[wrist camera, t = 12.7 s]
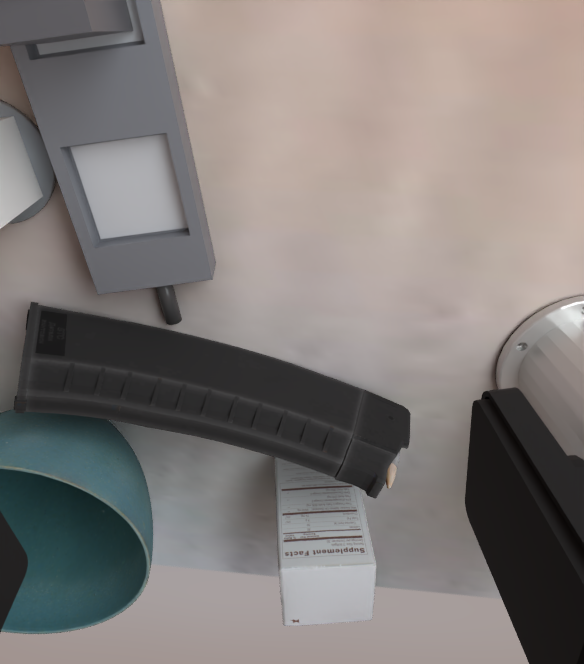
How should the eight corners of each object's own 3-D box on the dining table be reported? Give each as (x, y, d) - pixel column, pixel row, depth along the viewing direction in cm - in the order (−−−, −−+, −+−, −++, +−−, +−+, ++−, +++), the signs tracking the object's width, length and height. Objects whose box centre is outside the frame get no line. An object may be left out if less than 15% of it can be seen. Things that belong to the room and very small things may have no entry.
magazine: (-65, 390, 31) (385, 595, 30) (-65, 348, 30) (409, 562, 28) (93, 294, 47) (397, 427, 45) (98, 263, 45) (413, 399, 44)
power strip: (225, 309, 40) (222, 333, 37) (124, 322, 40) (113, 347, 37) (121, -183, 25) (101, -212, 22) (-37, -159, 25) (-79, -186, 22)
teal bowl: (166, 355, 42) (133, 465, 31) (181, 507, 51) (161, 632, 40) (-67, 354, 40) (-182, 468, 30) (-7, 510, 50) (-79, 639, 39)
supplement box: (350, 498, 51) (373, 623, 40) (276, 502, 51) (280, 629, 40) (353, 443, 48) (379, 565, 37) (273, 447, 47) (276, 572, 36)
